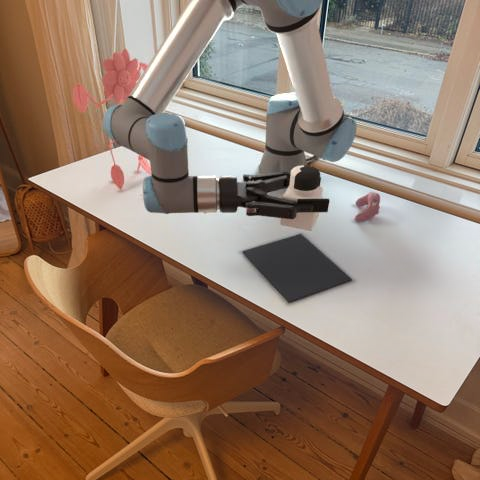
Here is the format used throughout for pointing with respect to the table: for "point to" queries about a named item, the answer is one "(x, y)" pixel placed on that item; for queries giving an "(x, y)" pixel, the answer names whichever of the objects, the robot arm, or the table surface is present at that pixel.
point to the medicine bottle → (303, 195)
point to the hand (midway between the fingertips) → (323, 193)
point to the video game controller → (368, 206)
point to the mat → (296, 267)
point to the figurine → (115, 97)
